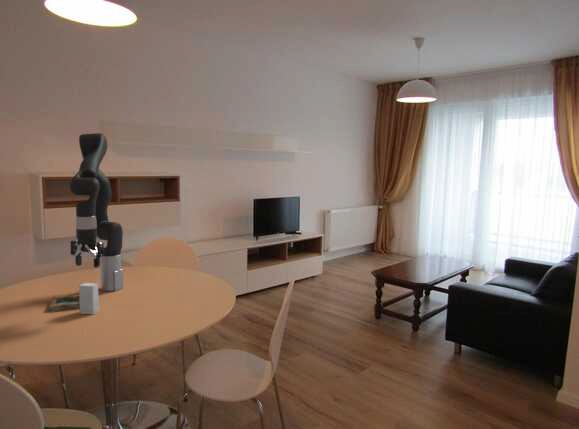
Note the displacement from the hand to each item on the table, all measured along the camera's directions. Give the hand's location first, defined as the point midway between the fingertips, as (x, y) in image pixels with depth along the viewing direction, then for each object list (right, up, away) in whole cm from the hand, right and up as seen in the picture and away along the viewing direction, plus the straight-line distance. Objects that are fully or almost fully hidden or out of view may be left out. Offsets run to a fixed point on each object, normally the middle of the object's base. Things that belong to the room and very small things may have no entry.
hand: (87, 266), depth 167 cm
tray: (-13, -18, +10) cm, 25 cm away
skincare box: (0, -20, +2) cm, 20 cm away
